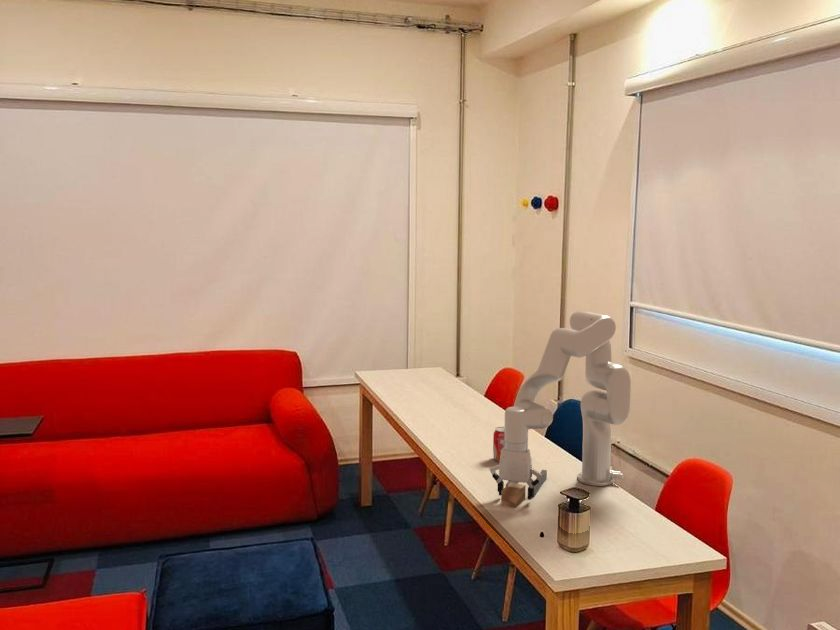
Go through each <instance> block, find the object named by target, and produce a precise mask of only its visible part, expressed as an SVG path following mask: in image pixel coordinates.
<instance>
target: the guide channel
mask: <svg viewBox="0 0 840 630" xmlns="http://www.w3.org/2000/svg"><path fill="white" fill-rule="evenodd" d="M540 473H541V474H542V475H543V476H542V478H541V479H540V481H539V483H538V484H537V485H535V486H534V496H533V497H532V498H534V497H535V496H536V495H537V493H538V492H539V491H540V489H541V487H542V485H544V483H545V482H546V480H547V475H548V474H547V473H548V471H547V469H542V470H541V471H540ZM511 482H512V483H517V484H520V482H515V481H508V480H507V482H506V483H505V487H506V486H508V485H509V484H510V483H511Z"/></svg>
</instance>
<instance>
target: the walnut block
mask: <svg viewBox="0 0 840 630" xmlns="http://www.w3.org/2000/svg"><path fill="white" fill-rule="evenodd" d="M526 487H527V485H526V484H521V483H518V484H517V483H512V482H511V483H510V484H509V485H508V486H506V485H505V486H504V489H503V490H502V491H501V495H500V496H501V497H500V498H501V499H500V502H501V503H500V504H501V506H503V507H509V508H513V509H517V508H518V507H519V506H520V505H521V504H522V503H523V502H524V501H525V500H526Z"/></svg>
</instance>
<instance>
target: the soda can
mask: <svg viewBox="0 0 840 630" xmlns="http://www.w3.org/2000/svg"><path fill="white" fill-rule="evenodd" d="M504 439H505V426H497V427H495V430H494V431H493V441H492V443H493V446H492V447H493V448H492V451H493V452H492V453H493V455H492V456H493V459H494V460H496V461H497V462H499V463H500V455H501V450H502V448H504V446H503V445H502V444H500V440H504Z"/></svg>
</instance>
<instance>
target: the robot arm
mask: <svg viewBox="0 0 840 630" xmlns="http://www.w3.org/2000/svg"><path fill="white" fill-rule="evenodd" d="M569 324H570V328H566V327H559V328H555V329H554V330H552V331H551V333H550V335H549V338H548V341H547V344H546V346H545V348H544V352H543V355H542V357H541V360H540V363H539V365H538V368H537V370H536V371H535V372H533V373H532V374H531V375H530V376H529V377H528V378H527V379H526V380H525V381H524V383H522V385H521V387H520V388H519V390H518V392H517V395H516V398H515V400H514V405H513V406H509V407H507V408H506V409H505V410H504V427H505V439H504V440H500V444H502V445H503V446H504V448H502V450H501V455H500V462H499V464H496V465H493V466H491V467H490V468H489V472H490V474H491V476H492V478H493V479H494V480H495V482H496V484H497V492H498V495H499V496H501V491H502V490H503V489H504V488H505V486H504V485H505V483H504V481H507V482H508V481H515V482H519V483H525V484H527V485H528V488H527V500H529V501H530V500H531V499H532V498H534V497H535V496H534V486H535V485H537V484H538V483H539V481H540V479H541V478H542V476H543V475H542V474H541V472H540V471H538V470H536V469H535V468H533V463H532V456H531V455H532V453H531V450H530V449H529V430H543V429H545V428H548V427H549V426H550V425H551V424H552V423H553V420H554V415H553V412H552V410H551V409H550V408H549V407H548V406H547V407H546V406H544V405H542V404H540V403H536V402H535V399H536V397H537V395H538V393H540V391H542V389H544V388H545V387H547V386H548V385H551V384H555V383H557V382H560V381H561V380H563V378H564V375H565V373H566V370H567V367H568V365H569V362H570V359H571V358H572V357H573V358H584V357H585V370H584V371H585V373H584V374H585V381H586V383H587V384H588V385H589V386H591V387H593V388H595V389H596V390H595V389H591V390H588V391H586V392H585V393H584V394H583V396H582V397H581V399H580V411H581V417H582V455H581V458H582V460H581V464H582V465H581V467H582V468H581V471H580V472H578V474H577V475H576V476H577V478H576V479H577V480H578V481H579V482H581V483H583V484H585V485H589V486H595V487H604V486H605V487H606V486H610V485H612V484H614V482H615V481H616V480H615V479H618V480H623V479H624V473H621V471H617V470H614V469H613V466H611V461H612V460H611V454H612V453H611V451H612V450H611V449H612V427H611V425H614V426H620V425H623V424H624V423H625V422H626V421H627V420H628V418H629V416H630V411H631V386H632V385H631V383H632V382H631V376H630V372H629V371H628V369H627V368H626V367H625V366H623V365H621V364H618V363H614V362H613V360H612V347H611V346H612V345H611V342H610V341H611V339H612V338H613V337H614V335H615V333H616V329H617V325H616V322H615V320H614V319H613V318H612V317H611V316H609V315H606V314H602V313H601V314H600V313H595V312H593V311H591V312H590V311H586V310H584V311H583V310H578V311H575V312H573V313H572V314H571V315H570V318H569ZM598 389H599V390H598ZM605 391H606V392H605ZM496 471H498V472H496ZM532 476H535V477H536V478H535V479H533V478H532ZM533 496H534V497H533Z"/></svg>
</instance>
